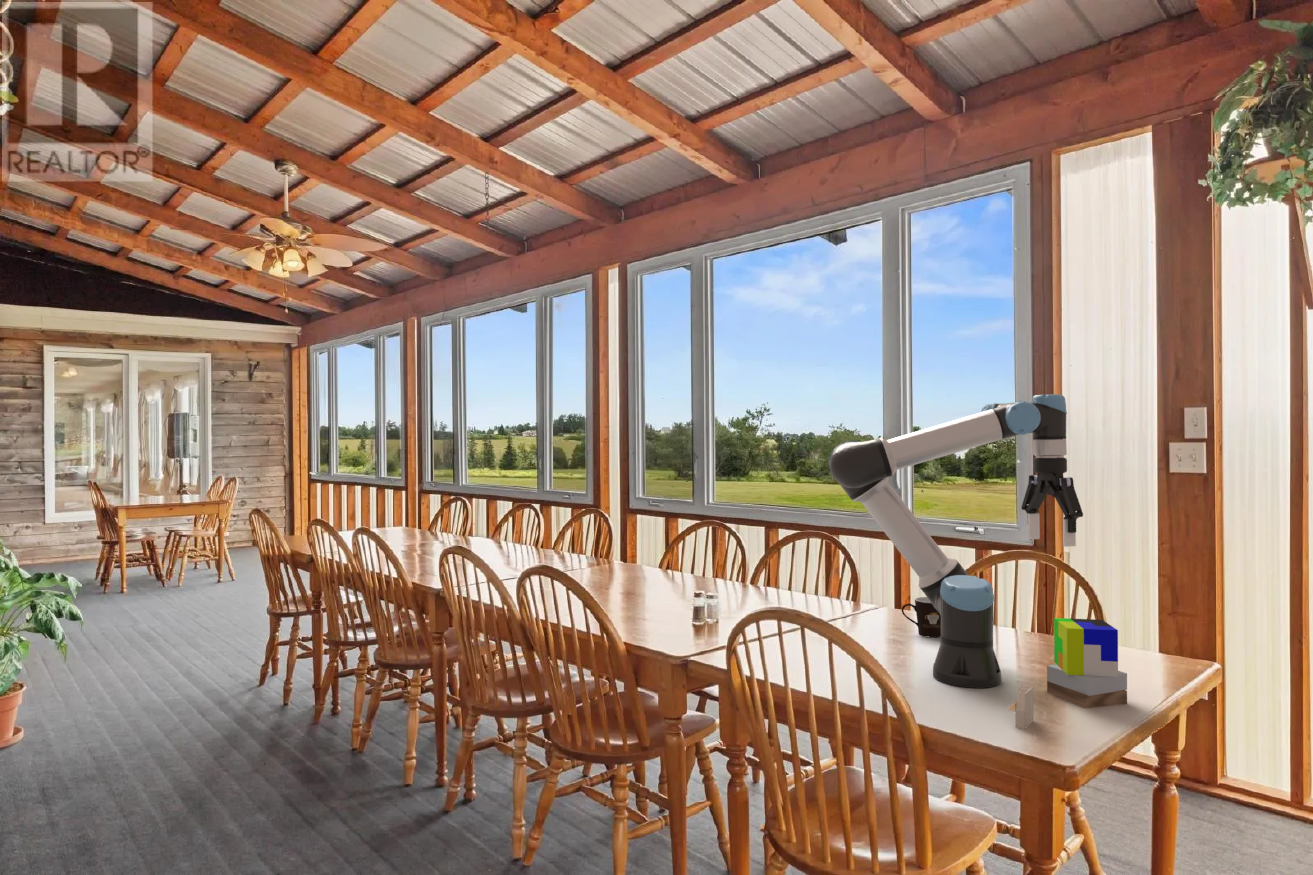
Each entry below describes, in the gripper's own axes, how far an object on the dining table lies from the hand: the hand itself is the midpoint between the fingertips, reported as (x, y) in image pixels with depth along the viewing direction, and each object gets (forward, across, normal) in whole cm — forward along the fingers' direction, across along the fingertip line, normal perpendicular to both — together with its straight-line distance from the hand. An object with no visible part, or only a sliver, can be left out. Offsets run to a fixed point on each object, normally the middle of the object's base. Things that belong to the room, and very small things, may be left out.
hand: (1051, 542), depth 201 cm
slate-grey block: (+28, -22, +8) cm, 36 cm away
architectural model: (+31, -34, +31) cm, 56 cm away
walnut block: (+32, -22, +8) cm, 39 cm away
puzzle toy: (+25, -22, +8) cm, 34 cm away
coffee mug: (+31, +36, +15) cm, 50 cm away
